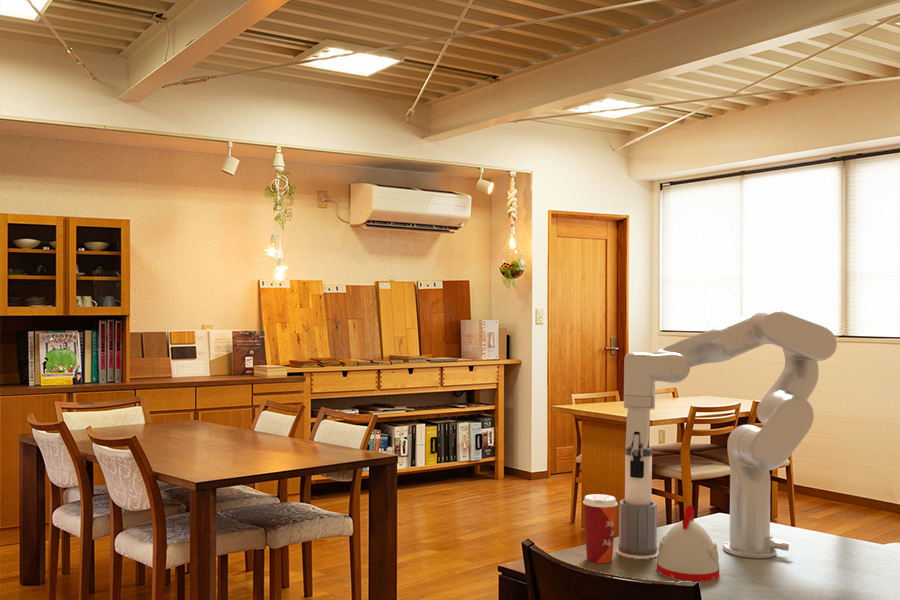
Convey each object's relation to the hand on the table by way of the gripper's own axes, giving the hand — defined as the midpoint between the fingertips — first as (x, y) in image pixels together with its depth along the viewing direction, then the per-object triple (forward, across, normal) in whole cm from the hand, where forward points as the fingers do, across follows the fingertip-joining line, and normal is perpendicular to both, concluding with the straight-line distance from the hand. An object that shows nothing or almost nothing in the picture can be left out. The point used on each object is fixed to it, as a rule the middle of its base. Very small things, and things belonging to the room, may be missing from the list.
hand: (638, 474), depth 207 cm
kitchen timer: (+20, +10, +12) cm, 26 cm away
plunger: (+11, 0, 0) cm, 11 cm away
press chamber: (+20, 0, 0) cm, 20 cm away
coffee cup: (+20, +8, -8) cm, 23 cm away
